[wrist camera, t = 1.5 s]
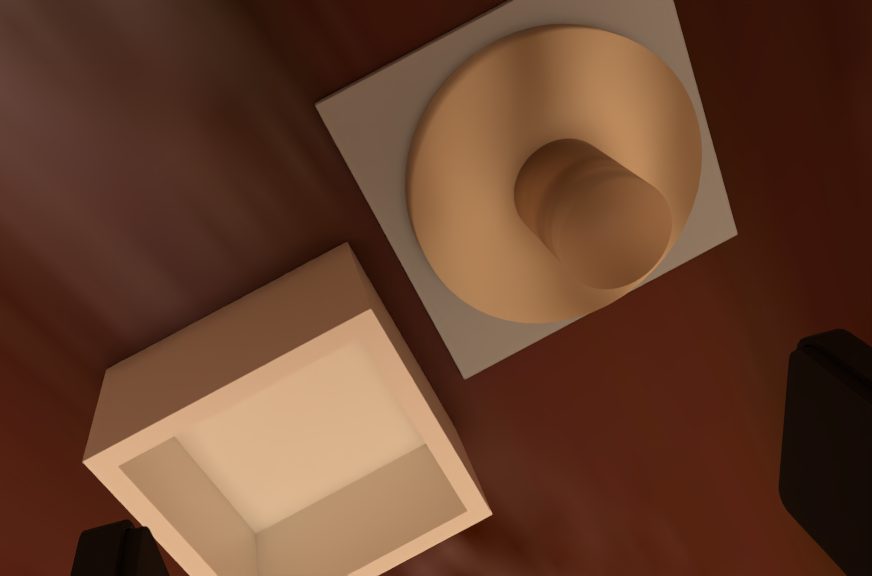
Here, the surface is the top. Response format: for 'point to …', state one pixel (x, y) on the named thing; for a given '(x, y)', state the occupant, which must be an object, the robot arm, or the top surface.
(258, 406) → the small beige box
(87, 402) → the top surface
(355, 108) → the mat
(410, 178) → the lid
